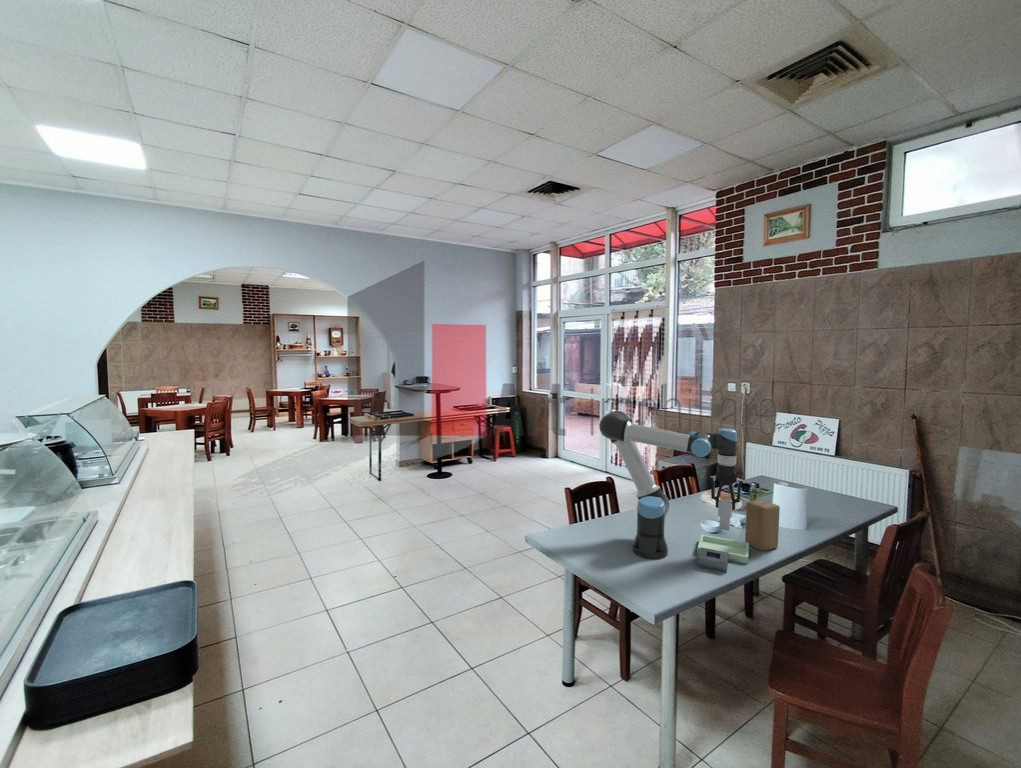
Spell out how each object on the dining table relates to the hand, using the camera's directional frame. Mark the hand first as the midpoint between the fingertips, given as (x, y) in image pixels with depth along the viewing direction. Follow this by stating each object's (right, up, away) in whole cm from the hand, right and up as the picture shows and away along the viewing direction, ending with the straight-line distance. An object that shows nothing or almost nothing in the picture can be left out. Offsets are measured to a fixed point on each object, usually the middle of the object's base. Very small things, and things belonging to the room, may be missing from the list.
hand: (724, 515), depth 207 cm
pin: (0, -6, 0) cm, 6 cm away
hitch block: (-10, -17, -10) cm, 23 cm away
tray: (0, -16, +1) cm, 17 cm away
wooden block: (+20, -16, +8) cm, 27 cm away
